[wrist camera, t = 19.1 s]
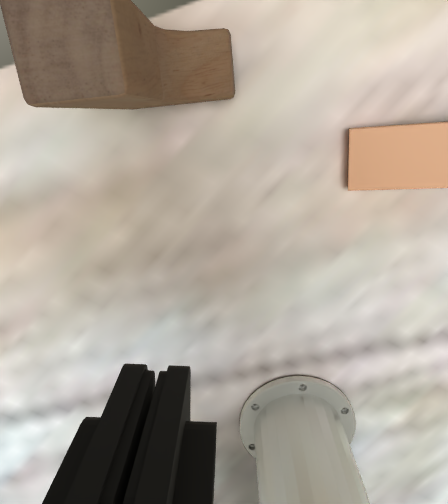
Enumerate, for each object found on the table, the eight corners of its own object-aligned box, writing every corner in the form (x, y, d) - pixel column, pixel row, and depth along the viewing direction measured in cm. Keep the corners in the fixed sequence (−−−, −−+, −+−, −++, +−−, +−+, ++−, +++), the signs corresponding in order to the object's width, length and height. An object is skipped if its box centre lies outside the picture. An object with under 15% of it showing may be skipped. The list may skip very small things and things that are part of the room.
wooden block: (230, 38, 31) (227, -48, 14) (235, 98, 33) (238, 84, 16) (119, 50, 32) (-10, -19, 15) (129, 109, 33) (21, 107, 16)
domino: (347, 186, 35) (475, 183, 32) (348, 190, 34) (481, 186, 31) (349, 128, 33) (483, 119, 31) (349, 129, 32) (490, 120, 29)
